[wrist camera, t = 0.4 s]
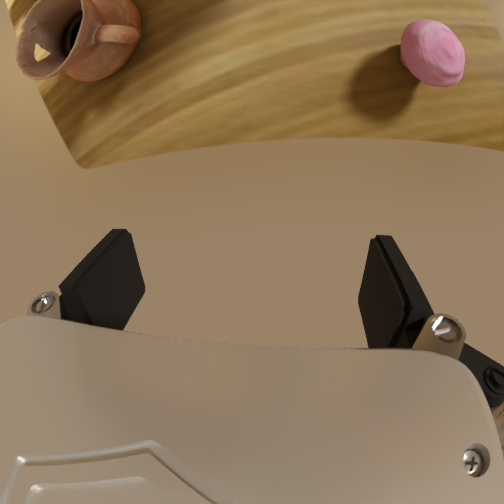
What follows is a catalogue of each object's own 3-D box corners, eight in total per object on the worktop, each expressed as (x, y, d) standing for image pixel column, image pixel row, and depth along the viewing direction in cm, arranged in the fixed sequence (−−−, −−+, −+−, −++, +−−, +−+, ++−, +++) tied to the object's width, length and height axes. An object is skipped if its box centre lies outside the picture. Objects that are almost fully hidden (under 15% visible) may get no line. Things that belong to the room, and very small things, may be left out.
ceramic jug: (59, 74, 33) (-3, 84, 21) (84, -3, 26) (25, -15, 14) (143, 91, 35) (84, 99, 23) (177, 3, 28) (129, -27, 16)
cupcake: (437, 92, 30) (475, 97, 21) (384, 78, 31) (413, 76, 22) (439, 37, 25) (476, 30, 17) (385, 21, 26) (412, 4, 18)
